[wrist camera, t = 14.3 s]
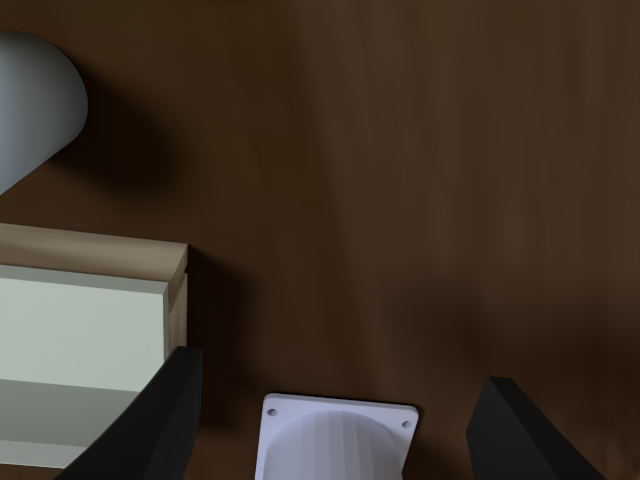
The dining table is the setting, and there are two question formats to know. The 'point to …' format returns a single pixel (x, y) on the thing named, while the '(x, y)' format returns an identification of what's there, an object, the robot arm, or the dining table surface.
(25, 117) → the pale blue cylinder
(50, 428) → the lid
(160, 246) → the frame
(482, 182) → the dining table surface
